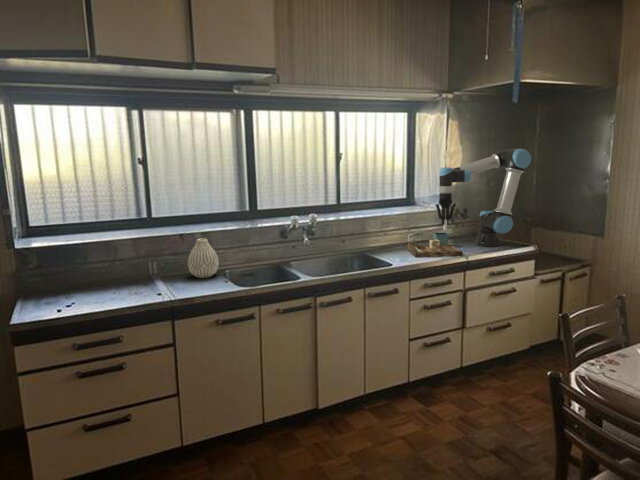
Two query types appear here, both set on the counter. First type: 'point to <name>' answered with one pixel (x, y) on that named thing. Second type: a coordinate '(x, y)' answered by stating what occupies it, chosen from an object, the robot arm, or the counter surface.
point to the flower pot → (442, 238)
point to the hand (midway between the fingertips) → (445, 229)
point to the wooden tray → (433, 251)
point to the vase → (203, 259)
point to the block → (435, 244)
